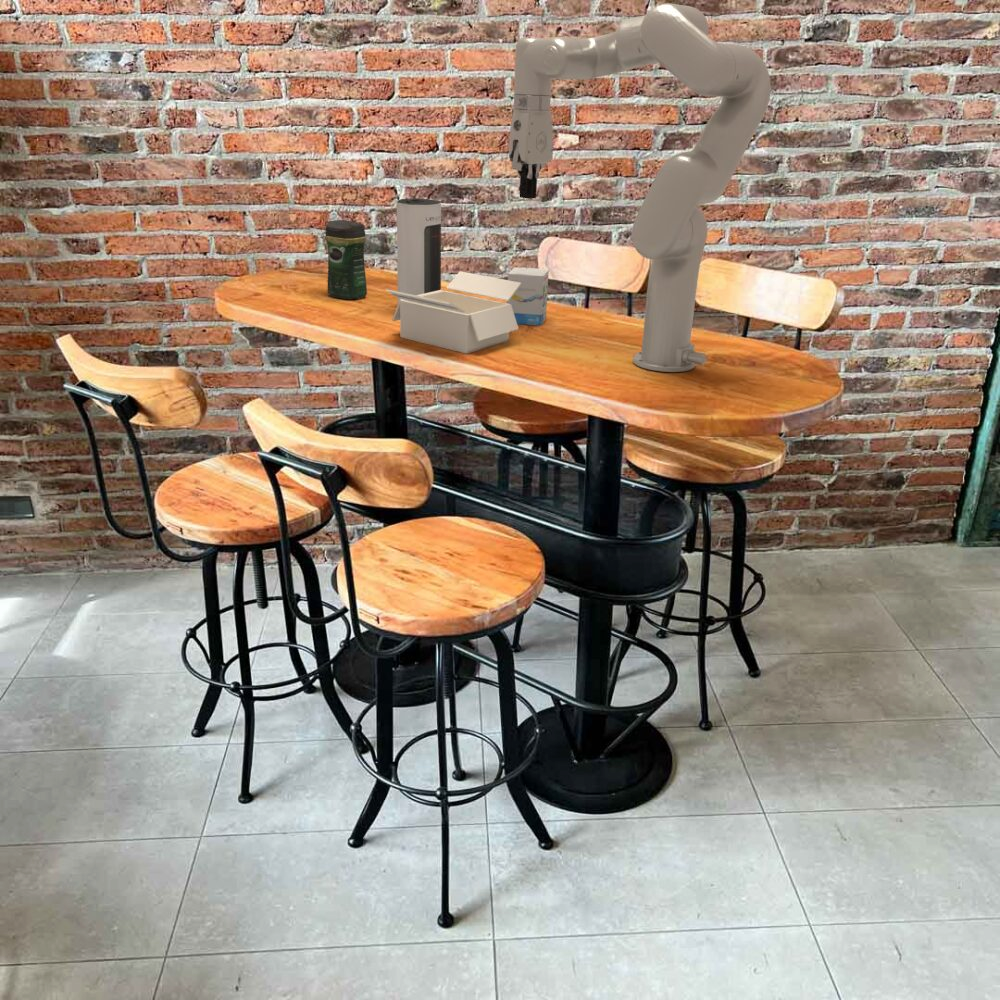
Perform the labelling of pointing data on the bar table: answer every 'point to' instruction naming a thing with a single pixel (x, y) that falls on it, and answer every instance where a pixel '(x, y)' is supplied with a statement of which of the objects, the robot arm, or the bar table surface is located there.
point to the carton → (456, 322)
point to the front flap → (425, 300)
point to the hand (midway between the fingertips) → (527, 197)
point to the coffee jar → (346, 259)
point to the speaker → (418, 246)
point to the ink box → (529, 295)
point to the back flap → (484, 286)
